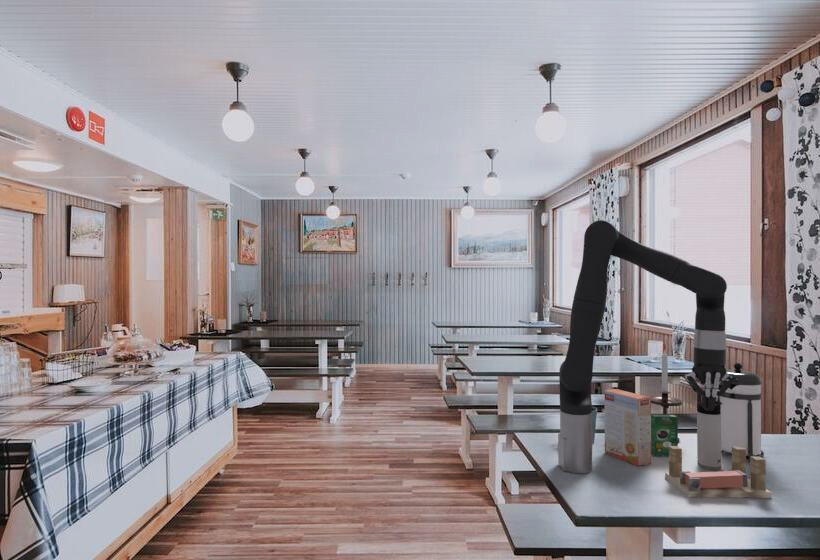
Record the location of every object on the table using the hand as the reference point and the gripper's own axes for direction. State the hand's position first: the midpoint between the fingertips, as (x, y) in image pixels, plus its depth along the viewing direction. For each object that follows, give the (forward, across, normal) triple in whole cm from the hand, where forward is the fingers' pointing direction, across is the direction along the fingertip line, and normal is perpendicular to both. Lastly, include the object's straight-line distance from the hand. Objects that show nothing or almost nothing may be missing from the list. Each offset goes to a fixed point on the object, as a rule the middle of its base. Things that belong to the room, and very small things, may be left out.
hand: (708, 410), depth 133 cm
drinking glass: (+22, -21, +40) cm, 51 cm away
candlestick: (+22, +9, +42) cm, 48 cm away
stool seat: (+22, +3, +1) cm, 22 cm away
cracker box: (+22, -12, +23) cm, 34 cm away
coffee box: (+22, +1, +26) cm, 34 cm away
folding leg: (+18, -6, -3) cm, 20 cm away
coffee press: (+21, +26, +29) cm, 44 cm away
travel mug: (+22, +10, +16) cm, 29 cm away
